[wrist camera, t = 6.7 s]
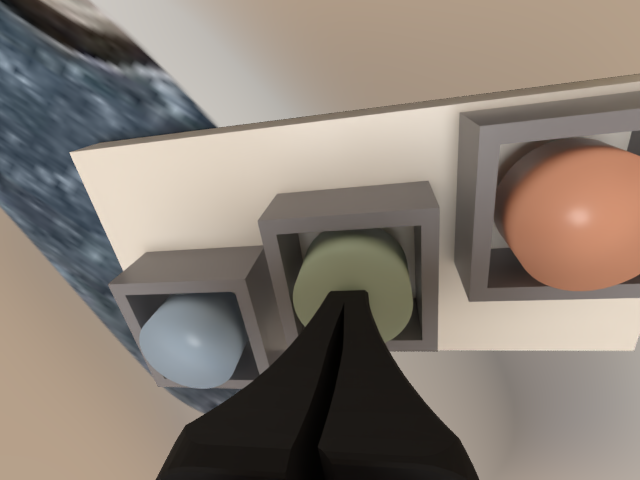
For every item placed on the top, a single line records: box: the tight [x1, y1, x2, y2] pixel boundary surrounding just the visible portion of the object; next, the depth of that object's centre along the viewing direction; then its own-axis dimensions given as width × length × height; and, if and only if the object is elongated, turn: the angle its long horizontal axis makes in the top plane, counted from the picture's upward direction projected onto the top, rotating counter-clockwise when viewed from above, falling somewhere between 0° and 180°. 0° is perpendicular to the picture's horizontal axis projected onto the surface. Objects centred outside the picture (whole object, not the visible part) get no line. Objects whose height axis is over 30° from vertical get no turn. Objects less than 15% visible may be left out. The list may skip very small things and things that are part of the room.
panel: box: [69, 74, 640, 389], centre depth 16 cm, size 12×25×5 cm, turn 98°
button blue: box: [139, 292, 249, 389], centre depth 16 cm, size 4×4×2 cm
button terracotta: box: [494, 138, 640, 291], centre depth 11 cm, size 4×4×2 cm
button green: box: [293, 228, 413, 343], centre depth 14 cm, size 4×4×2 cm
